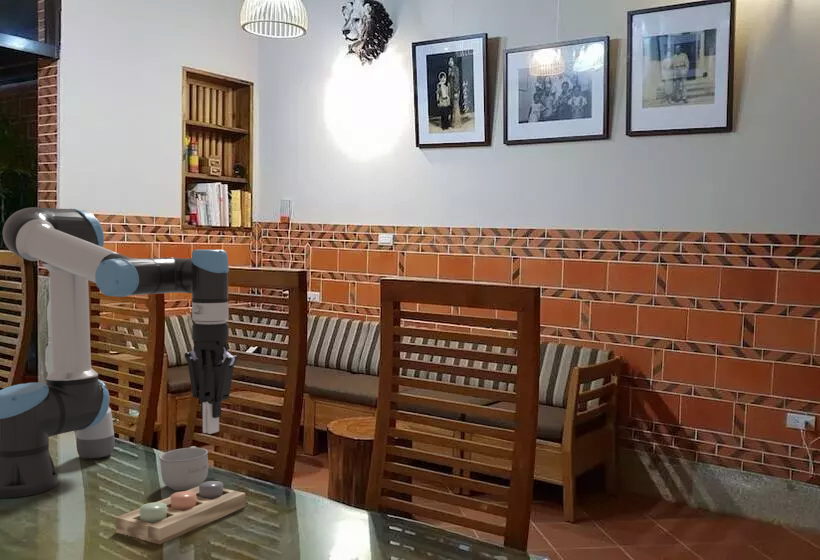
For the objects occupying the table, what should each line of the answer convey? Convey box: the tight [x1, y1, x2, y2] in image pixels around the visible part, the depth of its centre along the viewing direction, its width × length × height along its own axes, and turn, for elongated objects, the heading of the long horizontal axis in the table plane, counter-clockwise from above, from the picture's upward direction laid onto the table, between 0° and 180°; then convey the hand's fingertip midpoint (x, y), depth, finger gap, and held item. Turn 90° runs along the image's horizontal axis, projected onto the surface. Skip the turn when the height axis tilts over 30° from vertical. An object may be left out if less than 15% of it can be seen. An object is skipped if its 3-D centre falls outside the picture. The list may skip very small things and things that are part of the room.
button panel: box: [115, 486, 246, 545], centre depth 158 cm, size 12×24×3 cm, turn 151°
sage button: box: [139, 501, 167, 524], centre depth 151 cm, size 5×5×3 cm
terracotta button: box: [170, 490, 196, 511], centre depth 158 cm, size 5×5×3 cm
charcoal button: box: [199, 480, 224, 500], centre depth 165 cm, size 5×5×3 cm
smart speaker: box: [75, 406, 116, 461], centre depth 203 cm, size 10×9×14 cm
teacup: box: [159, 445, 209, 491], centre depth 180 cm, size 14×11×8 cm
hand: (210, 431), depth 164 cm, fingers closed
